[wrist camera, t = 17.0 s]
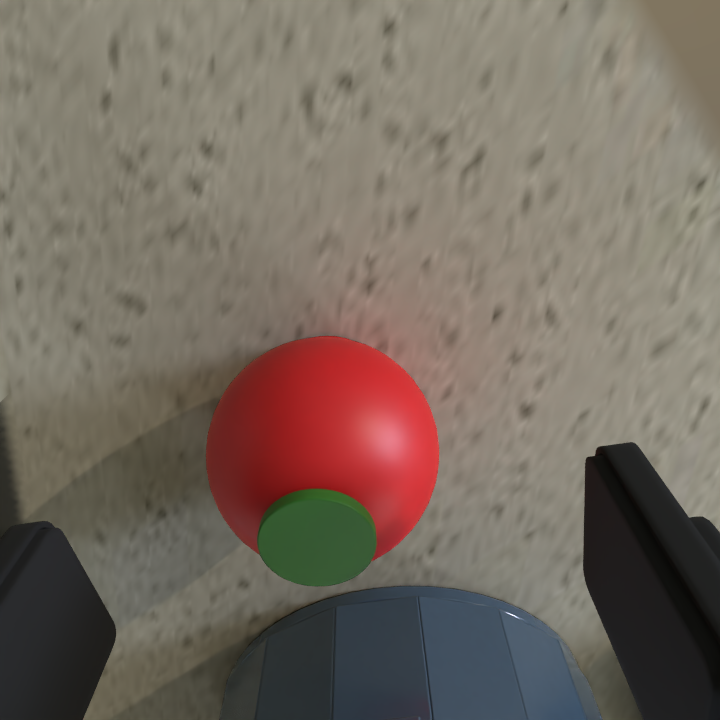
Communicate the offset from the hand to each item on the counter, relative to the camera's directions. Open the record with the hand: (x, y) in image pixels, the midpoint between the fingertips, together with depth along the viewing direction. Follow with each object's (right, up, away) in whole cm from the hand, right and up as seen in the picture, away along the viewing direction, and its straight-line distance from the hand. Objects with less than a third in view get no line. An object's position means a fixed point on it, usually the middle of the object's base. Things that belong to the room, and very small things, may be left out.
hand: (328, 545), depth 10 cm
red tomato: (0, +2, +5) cm, 6 cm away
